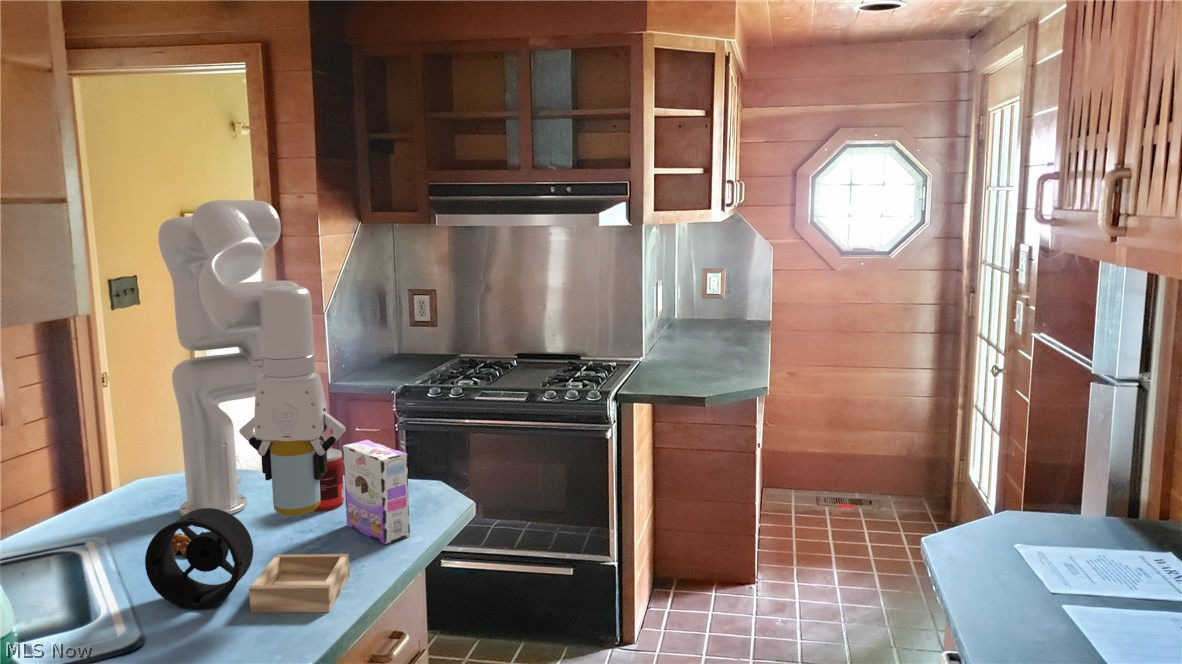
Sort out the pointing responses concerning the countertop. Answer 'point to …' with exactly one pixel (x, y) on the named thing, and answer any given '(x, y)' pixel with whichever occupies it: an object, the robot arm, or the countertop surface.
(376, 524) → the candy box
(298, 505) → the bottle
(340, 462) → the canned food
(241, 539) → the black ducted fan housing
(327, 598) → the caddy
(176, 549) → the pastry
